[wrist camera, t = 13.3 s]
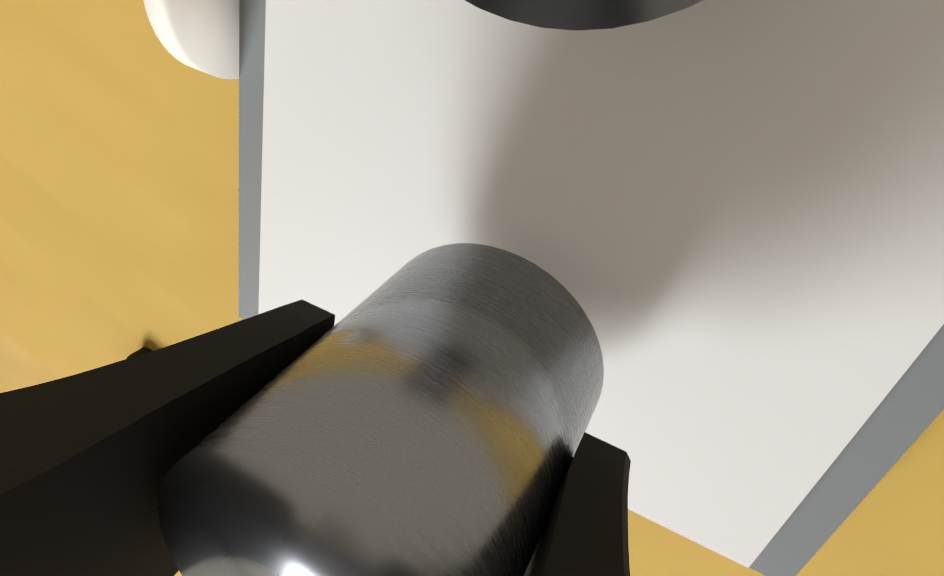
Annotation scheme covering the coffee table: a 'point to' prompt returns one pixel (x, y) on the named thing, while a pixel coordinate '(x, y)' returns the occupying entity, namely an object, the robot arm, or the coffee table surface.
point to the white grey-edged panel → (631, 217)
